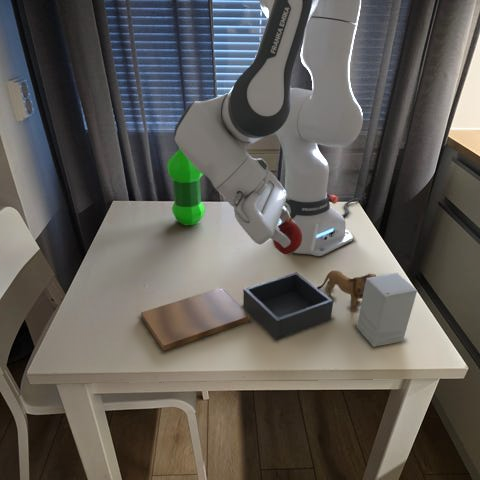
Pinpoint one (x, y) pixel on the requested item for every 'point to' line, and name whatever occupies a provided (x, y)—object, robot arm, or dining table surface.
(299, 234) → the red pomegranate
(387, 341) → the white packaging box
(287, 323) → the tub
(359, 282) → the lion figurine
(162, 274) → the dining table surface
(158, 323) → the cutting board
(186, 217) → the plastic bottle
